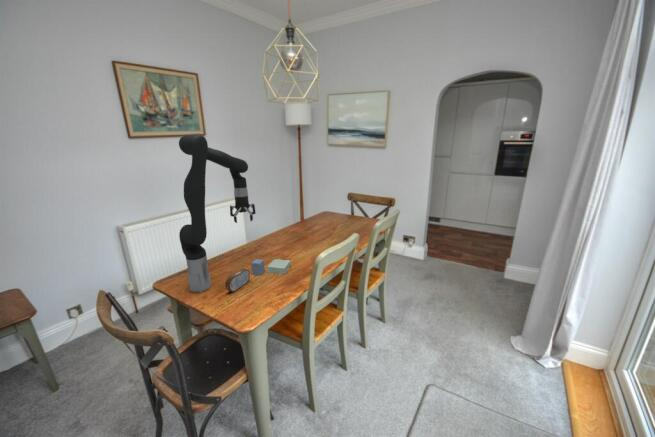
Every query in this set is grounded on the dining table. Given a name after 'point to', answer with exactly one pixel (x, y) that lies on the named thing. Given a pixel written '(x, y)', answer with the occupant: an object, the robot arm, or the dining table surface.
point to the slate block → (258, 267)
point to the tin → (237, 280)
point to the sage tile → (279, 266)
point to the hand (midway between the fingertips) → (243, 221)
